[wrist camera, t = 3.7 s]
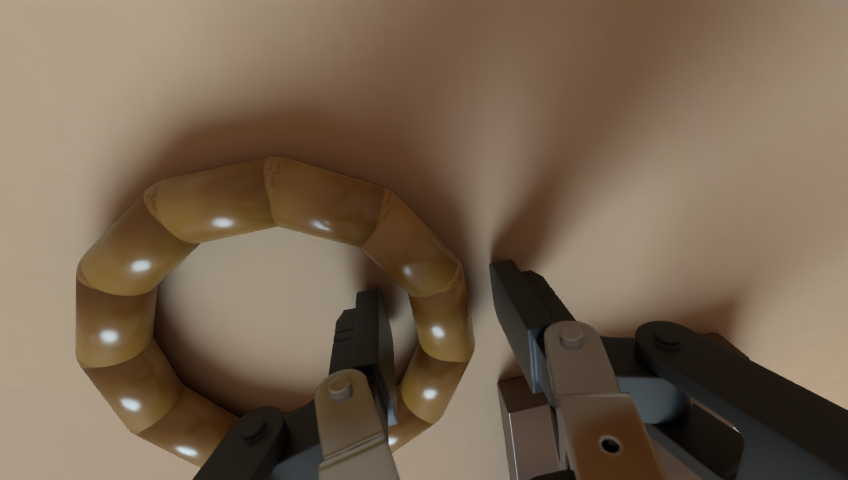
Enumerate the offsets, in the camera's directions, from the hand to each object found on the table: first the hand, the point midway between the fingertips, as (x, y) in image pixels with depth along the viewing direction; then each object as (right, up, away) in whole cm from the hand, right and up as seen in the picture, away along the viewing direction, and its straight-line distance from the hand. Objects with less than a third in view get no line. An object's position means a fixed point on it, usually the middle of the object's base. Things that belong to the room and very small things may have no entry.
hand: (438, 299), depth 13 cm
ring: (-5, -1, -1) cm, 5 cm away
